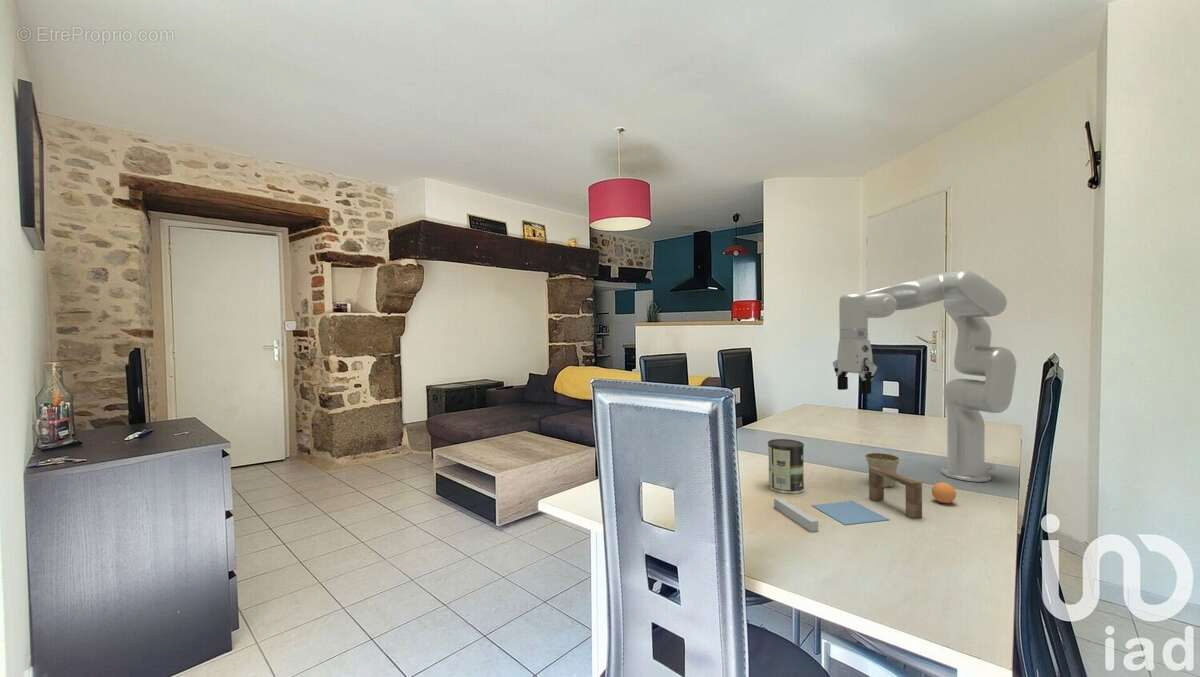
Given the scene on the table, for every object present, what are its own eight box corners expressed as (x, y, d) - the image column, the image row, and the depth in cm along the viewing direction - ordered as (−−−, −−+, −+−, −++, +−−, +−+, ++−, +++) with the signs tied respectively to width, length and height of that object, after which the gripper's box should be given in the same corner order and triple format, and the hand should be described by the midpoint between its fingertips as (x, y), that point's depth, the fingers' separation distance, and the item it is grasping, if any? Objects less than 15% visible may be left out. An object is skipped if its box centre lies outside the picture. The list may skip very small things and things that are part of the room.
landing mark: (852, 501, 132) (852, 500, 132) (889, 520, 119) (889, 519, 119) (811, 505, 129) (811, 505, 129) (844, 525, 117) (844, 524, 117)
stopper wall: (780, 506, 129) (780, 497, 129) (818, 531, 114) (818, 520, 114) (774, 507, 129) (774, 498, 129) (810, 531, 113) (810, 521, 113)
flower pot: (869, 487, 143) (869, 459, 143) (861, 478, 152) (861, 451, 152) (904, 490, 140) (904, 461, 140) (894, 480, 149) (894, 453, 149)
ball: (942, 498, 133) (942, 479, 133) (961, 505, 128) (961, 485, 128) (926, 499, 132) (926, 480, 132) (944, 507, 127) (944, 487, 127)
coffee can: (800, 483, 148) (799, 439, 148) (807, 494, 138) (807, 447, 138) (765, 481, 150) (765, 438, 150) (771, 493, 140) (770, 446, 140)
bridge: (878, 497, 134) (878, 466, 134) (922, 517, 120) (922, 482, 120) (869, 498, 134) (869, 466, 134) (912, 519, 120) (912, 483, 119)
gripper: (886, 335, 133) (887, 395, 134) (844, 334, 150) (844, 387, 151) (863, 335, 132) (863, 396, 132) (823, 335, 149) (824, 388, 149)
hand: (853, 391), depth 142 cm, fingers open, 9 cm apart
